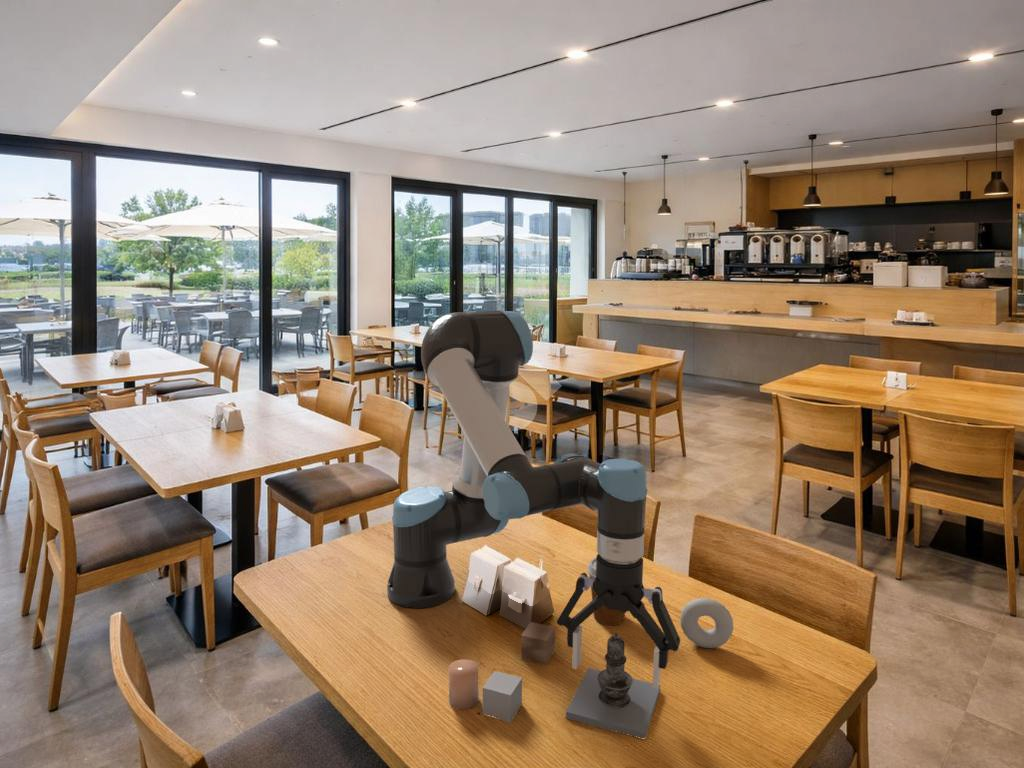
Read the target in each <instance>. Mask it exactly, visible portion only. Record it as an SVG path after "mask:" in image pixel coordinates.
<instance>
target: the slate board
mask: <svg viewBox="0 0 1024 768" xmlns="http://www.w3.org/2000/svg"><path fill="white" fill-rule="evenodd" d="M601 671H602V670H600V669H595V668H591V667H588V668H587V670H586V672H585V673H584V676H583V678H582V680H581V681H580V684H579V685H578V687H577V690H576V691H575V693H574V695H573V697H572V700H571V701H570V703H569V705H568V707H567V708H566V711H565V719H569V720H571V721H574V722H577V723H578V722H579V723H581V724H582V723H583V724H586V725H590V726H592V727H597V728H599V729H600V728H601V729H603V728H604V729H603V730H607V729H608V730H607V731H610V730H613V731H612V732H614V731H617V732H616V733H618V732H620V733H619V734H621V733H624V734H623V735H625V734H629V735H632V736H635V737H634V738H636V736H637V737H640V738H645V737H647V735H648V732H647V730H648V731H649V729H648V727H649V728H650V726H649V724H650V725H651V722H652V719H653V716H652V715H654V713H653V712H654V711H655V710H656V707H655V706H657V704H658V700H659V696H660V694H661V685H660V684H659V685H658V688H657V689H655V688H652V686H653V682H649V681H644V680H641V679H637V678H633V677H632V680H633V682H632V685H631V686H630V689H629V691H628V694H629V696H630V702H629V704H628V705H627V706H625V707H622V708H612V707H608V706H606V705H604V704H603V703H602V702H601V701H600V700H599V693H600V692H601V691H602V690H601V687H600V685H599V682H598V679H597V677H598V674H599V673H600V672H601ZM654 709H655V710H654ZM651 718H652V719H651ZM650 721H651V722H650ZM646 734H647V735H646ZM632 736H631V737H632ZM645 739H646V738H645Z"/></svg>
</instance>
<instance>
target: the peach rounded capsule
mask: <svg viewBox="0 0 1024 768" xmlns="http://www.w3.org/2000/svg"><path fill="white" fill-rule="evenodd" d="M448 702H449V704H450V706H451V708H454V709H456V708H457V709H456V710H462V709H463V710H469V709H468V708H470V709H472V708H474V707H475V706H476V705H477V704H478V703H479V665H478V663H477V662H476V661H474V660H471V659H465V658H463V659H457V660H455V661H453V662H451V663H450V664H449V666H448ZM471 707H472V708H471Z"/></svg>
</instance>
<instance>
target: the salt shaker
mask: <svg viewBox="0 0 1024 768" xmlns="http://www.w3.org/2000/svg"><path fill="white" fill-rule="evenodd" d="M625 645H626V643H625V640H624V639H623V638H622V637H621V636H619V634H618V633H617V632H614V635H612V636H610V637H609V638H608V639H607V647H606V654H605V655H604V660H605V661H606V664H605V669H602V670H600V671H601V672H600V673H599V674H598V677H597V679H598V682H599V685H600V687H601V690H602V691H601V692H600V693H599V700H600V701H601V702H602V703H603V704H604V705H606V706H608V707H612V708H622V707H625V706H627V705H628V704H629V702H630V696H629V694H628V691H629V689H630V686H631V685H632V682H633V680H632V678H633V677H632V676H631V674H630V673H628V672H627V671H625V663H626V662H627V657H626V655H625Z"/></svg>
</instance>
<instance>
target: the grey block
mask: <svg viewBox="0 0 1024 768" xmlns="http://www.w3.org/2000/svg"><path fill="white" fill-rule="evenodd" d="M521 704H523V677H520V676H517V675H514V674H508V673H506V672H505V673H504V672H501V671H497V670H494V671H493V673H491V675H490V677H489V678H488V679H487V680H486V682H485V683H484V685H483V686H482V715H483V714H486V715H490V716H494V717H496V718H495V719H497V718H499V719H498V720H500V719H501V720H500V721H503V720H505V722H507V721H508V722H507V723H511V722H512V721H513V719H514V718H513V717H515V716H516V715H517V713H518V711H519V709H520V708H521V706H522V705H521ZM516 712H517V713H516ZM486 715H485V716H486ZM490 716H489V717H490Z"/></svg>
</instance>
